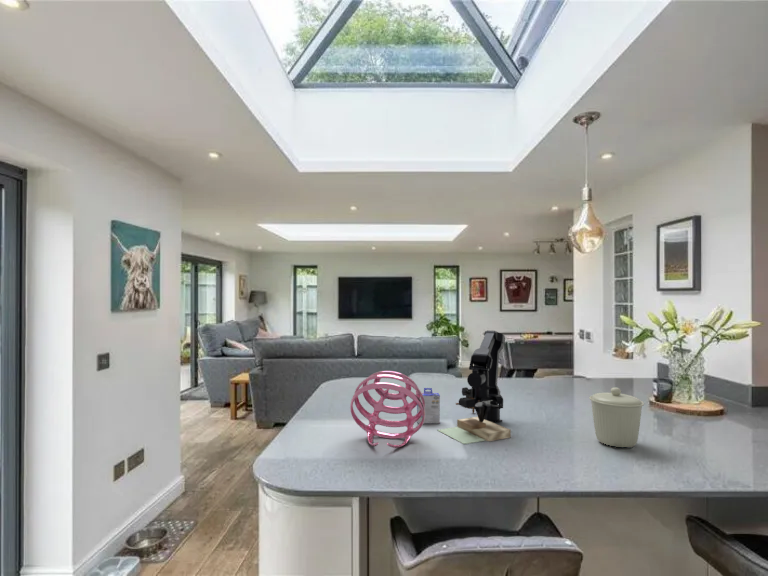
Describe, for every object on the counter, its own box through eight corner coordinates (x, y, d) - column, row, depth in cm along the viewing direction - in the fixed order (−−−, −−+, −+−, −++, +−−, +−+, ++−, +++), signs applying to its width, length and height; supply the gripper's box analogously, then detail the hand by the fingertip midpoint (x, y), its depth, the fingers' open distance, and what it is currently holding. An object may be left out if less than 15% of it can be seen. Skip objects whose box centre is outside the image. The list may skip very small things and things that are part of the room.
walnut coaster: (474, 422, 173) (474, 419, 173) (485, 427, 167) (485, 423, 167) (460, 424, 170) (460, 421, 170) (471, 429, 164) (471, 425, 164)
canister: (624, 455, 146) (624, 394, 147) (579, 440, 162) (578, 385, 163) (655, 447, 154) (654, 390, 155) (609, 433, 170) (608, 381, 171)
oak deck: (478, 423, 182) (478, 416, 182) (510, 437, 164) (510, 429, 164) (457, 426, 178) (457, 419, 178) (488, 441, 160) (488, 433, 160)
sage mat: (457, 427, 176) (457, 426, 176) (485, 440, 160) (485, 439, 160) (437, 430, 172) (437, 429, 172) (464, 444, 156) (464, 443, 156)
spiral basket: (405, 405, 134) (413, 349, 157) (329, 418, 144) (347, 363, 166) (433, 460, 147) (437, 401, 170) (361, 468, 156) (374, 411, 179)
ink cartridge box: (438, 420, 187) (438, 387, 187) (440, 423, 181) (440, 390, 182) (416, 420, 187) (416, 387, 187) (417, 423, 181) (417, 390, 182)
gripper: (486, 378, 182) (486, 414, 182) (450, 381, 174) (450, 419, 174) (504, 382, 172) (504, 421, 172) (467, 386, 164) (467, 427, 164)
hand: (481, 422), depth 171 cm, fingers closed
